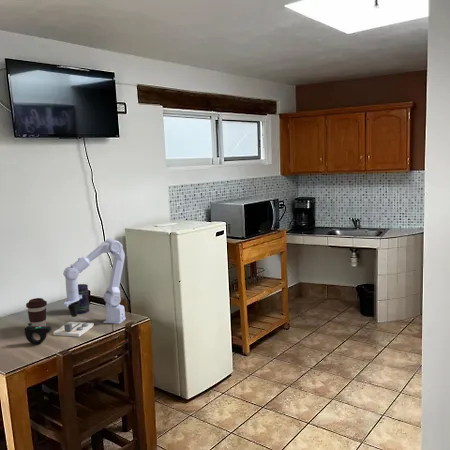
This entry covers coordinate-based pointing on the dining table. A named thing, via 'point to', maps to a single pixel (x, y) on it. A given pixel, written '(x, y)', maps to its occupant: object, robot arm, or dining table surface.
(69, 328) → the fader tab
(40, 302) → the coffee cup
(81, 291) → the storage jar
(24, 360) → the dining table surface
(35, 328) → the controller
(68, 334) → the console
